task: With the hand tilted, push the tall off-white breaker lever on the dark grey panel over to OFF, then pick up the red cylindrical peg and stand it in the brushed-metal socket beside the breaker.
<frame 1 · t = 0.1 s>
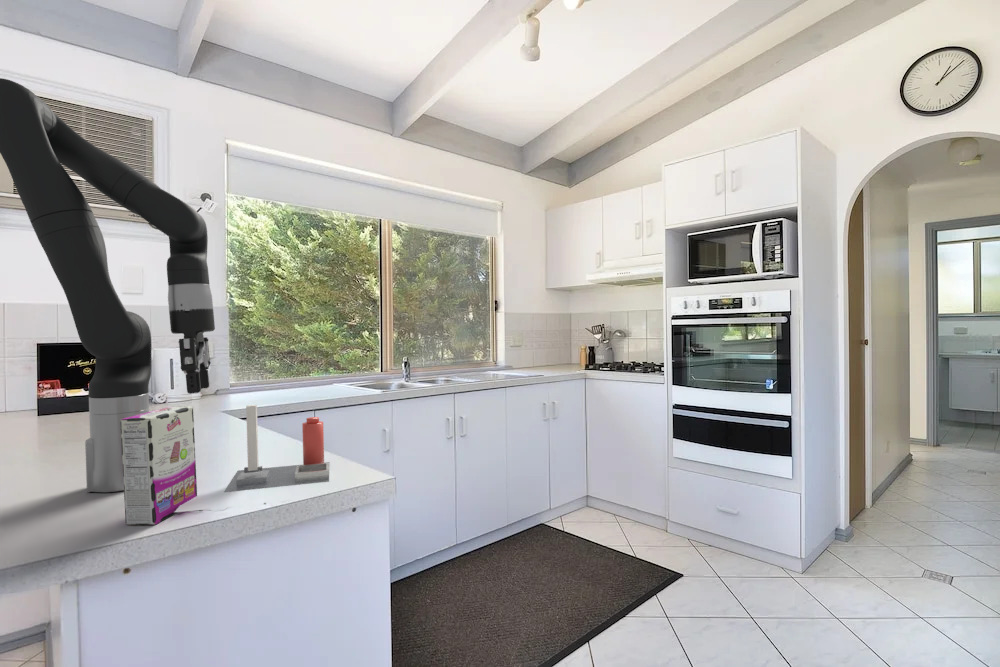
hand: (198, 390, 105), 17 cm above the countertop, tool pointing down, fingers open, 8 cm apart
red cylindrical peg: (313, 467, 108), point 1 cm above the countertop, touching panel
breaker: (252, 438, 99), point 9 cm above the countertop, hinge at 0.0°
candy bar box: (162, 514, 85), on the countertop
panel: (281, 480, 102), on the countertop
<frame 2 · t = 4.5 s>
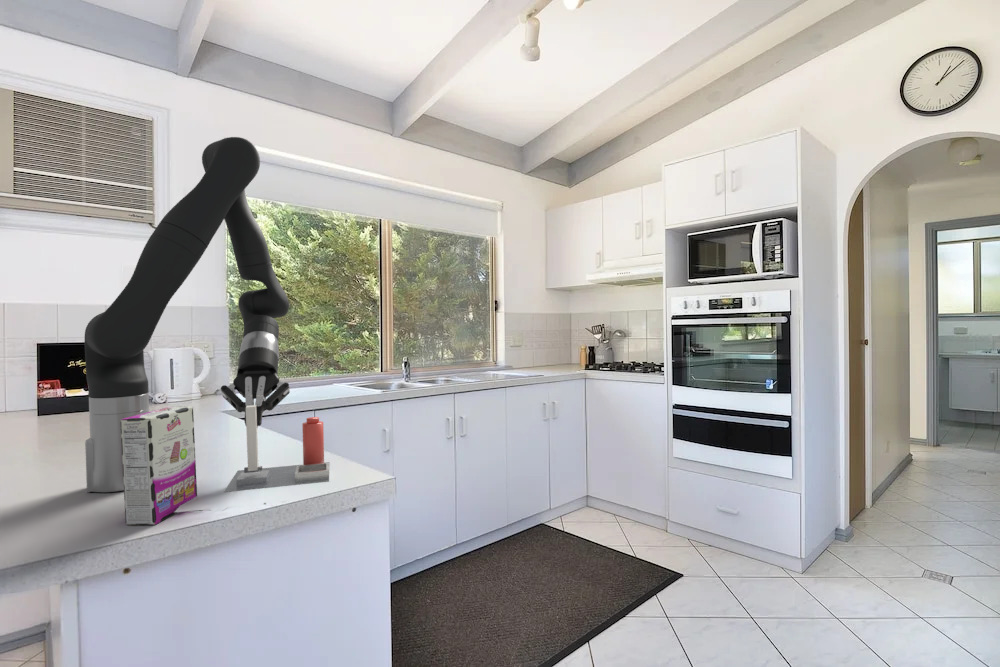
hand: (252, 426, 100), 11 cm above the countertop, tool tilted 45°, fingers closed
breaker: (252, 439, 99), point 9 cm above the countertop, hinge at 3.8°, touching gripper
everything else where it was.
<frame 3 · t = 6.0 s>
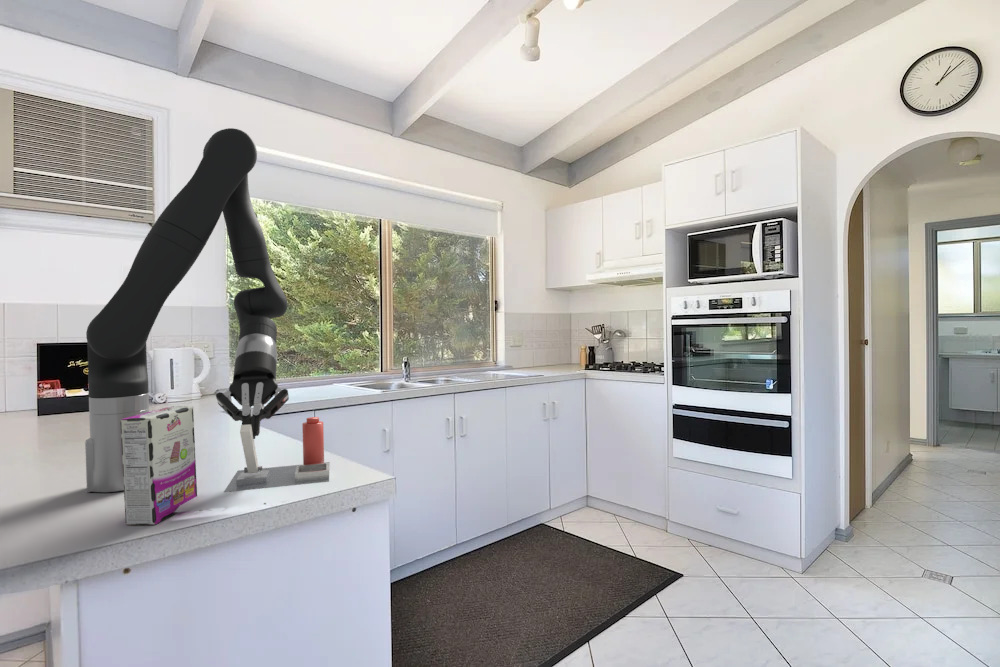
hand: (250, 437, 95), 10 cm above the countertop, tool tilted 45°, fingers closed
breaker: (249, 450, 96), point 7 cm above the countertop, hinge at 40.4°, touching gripper
everything else where it was.
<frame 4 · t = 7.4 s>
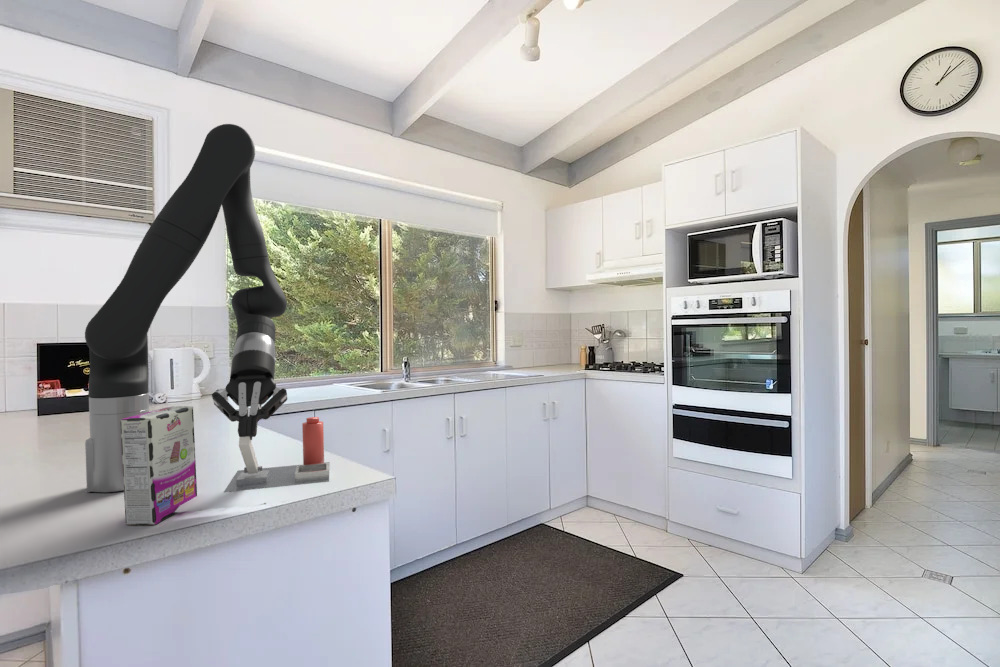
hand: (246, 437, 91), 11 cm above the countertop, tool tilted 45°, fingers closed
breaker: (249, 456, 95), point 7 cm above the countertop, hinge at 52.4°, touching gripper
everything else where it was.
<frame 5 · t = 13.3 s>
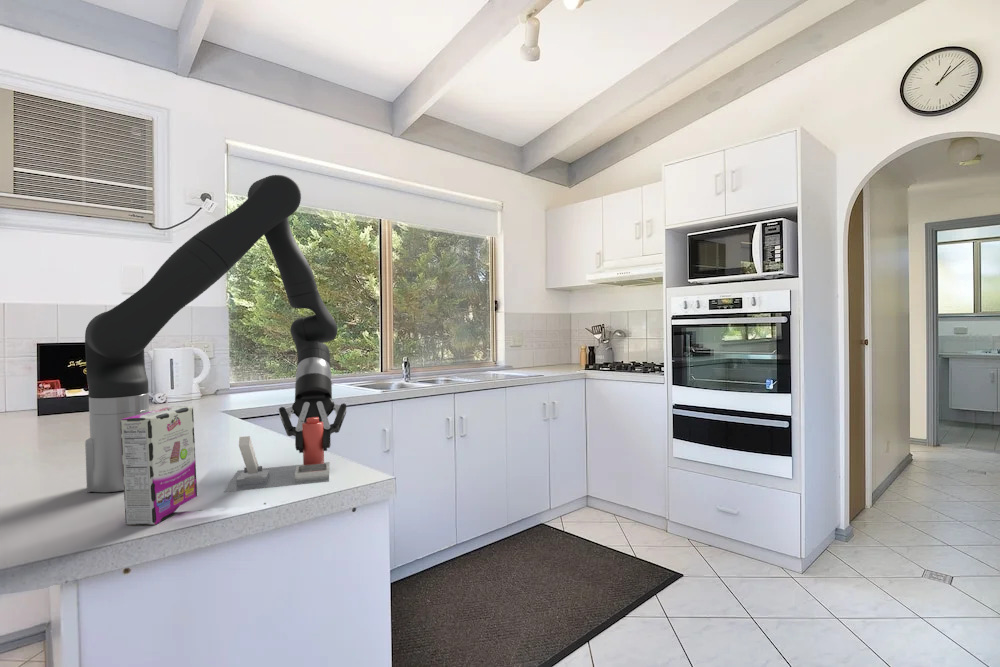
hand: (313, 449, 106), 5 cm above the countertop, tool tilted 45°, fingers closed on red cylindrical peg, 4 cm apart
red cylindrical peg: (313, 467, 108), point 1 cm above the countertop, touching gripper, panel
breaker: (249, 456, 95), point 7 cm above the countertop, hinge at 52.4°
everything else where it was.
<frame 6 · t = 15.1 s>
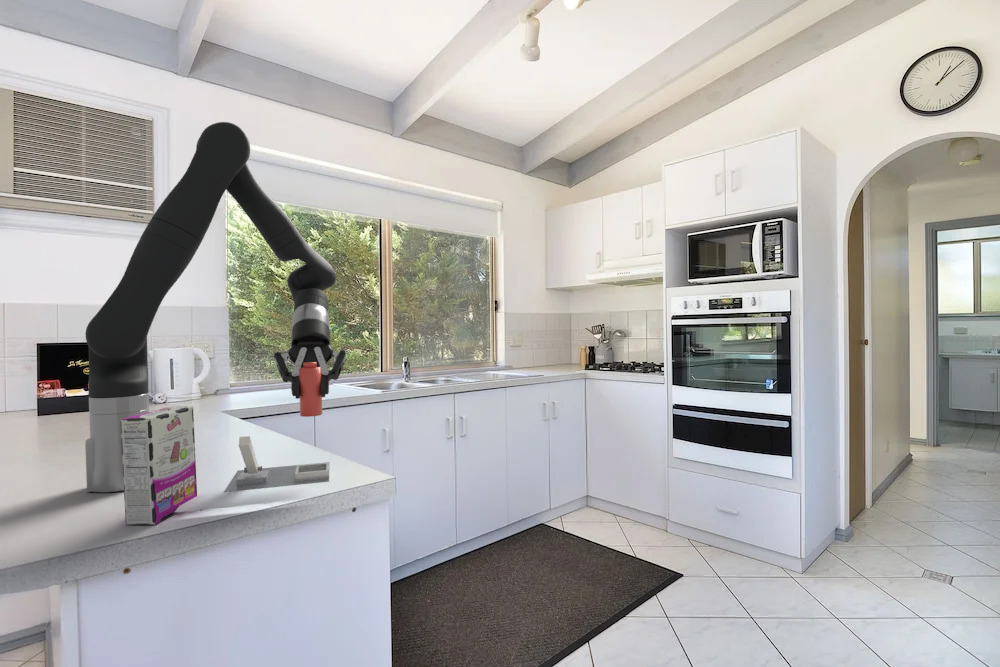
hand: (310, 394, 100), 17 cm above the countertop, tool tilted 45°, fingers closed on red cylindrical peg, 4 cm apart
red cylindrical peg: (311, 414, 102), point 13 cm above the countertop, touching gripper
everything else where it was.
when the fingers open (6 cm above the countertop, at t = 17.2 s): red cylindrical peg drops 1 cm, resting on panel.
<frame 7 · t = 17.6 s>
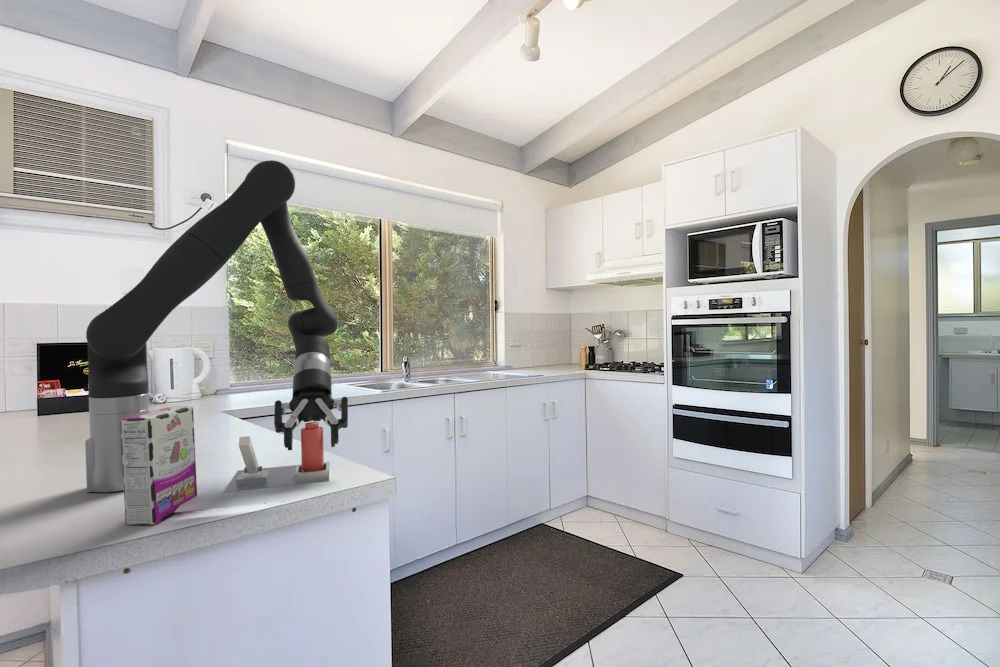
hand: (311, 446, 100), 7 cm above the countertop, tool tilted 45°, fingers open, 7 cm apart
red cylindrical peg: (313, 475, 102), point 1 cm above the countertop, touching panel
everything else where it was.
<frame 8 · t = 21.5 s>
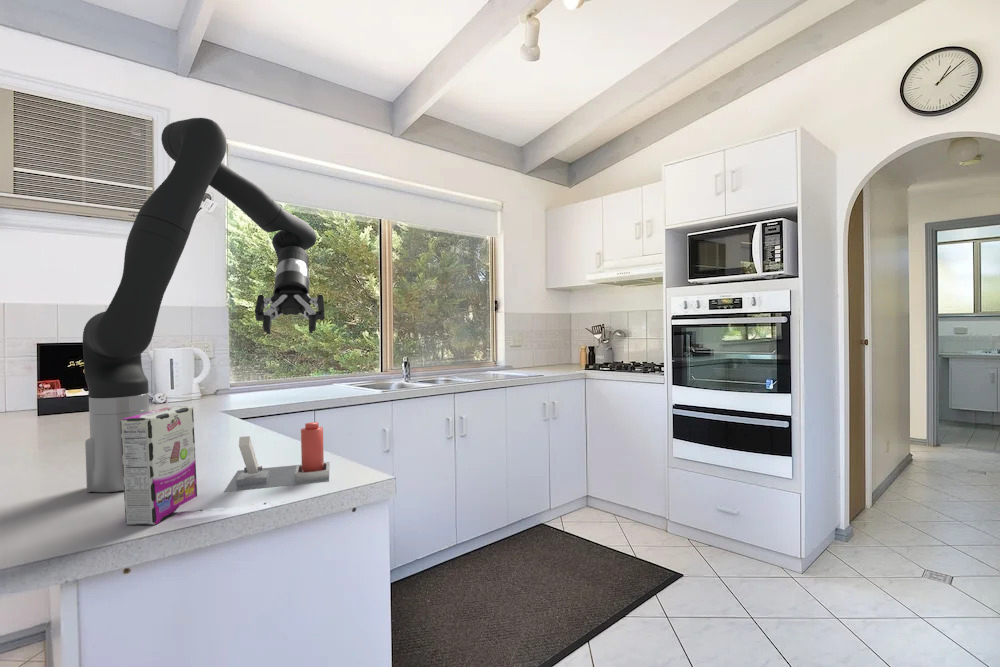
hand: (289, 331, 114), 29 cm above the countertop, tool tilted 45°, fingers open, 8 cm apart
nothing on the countertop moved.
at the end: breaker at +52° (first picture: +0°); red cylindrical peg 0.1 cm from the target spot, point 1.0 cm above the countertop; red cylindrical peg tilted 0° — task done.
